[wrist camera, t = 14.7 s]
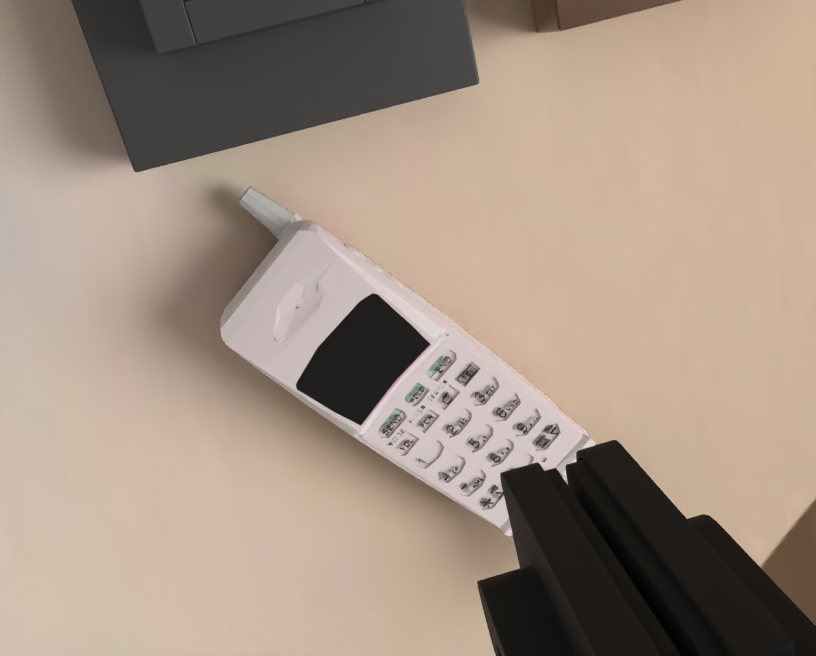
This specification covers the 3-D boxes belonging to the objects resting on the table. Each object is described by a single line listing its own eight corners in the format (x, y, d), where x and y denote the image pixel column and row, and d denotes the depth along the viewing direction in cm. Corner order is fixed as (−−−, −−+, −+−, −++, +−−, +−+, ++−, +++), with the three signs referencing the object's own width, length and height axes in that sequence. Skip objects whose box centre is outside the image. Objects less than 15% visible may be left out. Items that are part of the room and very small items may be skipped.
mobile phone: (659, 676, 31) (141, 345, 23) (602, 585, 37) (167, 291, 29) (761, 575, 30) (259, 193, 22) (687, 497, 36) (263, 167, 28)
